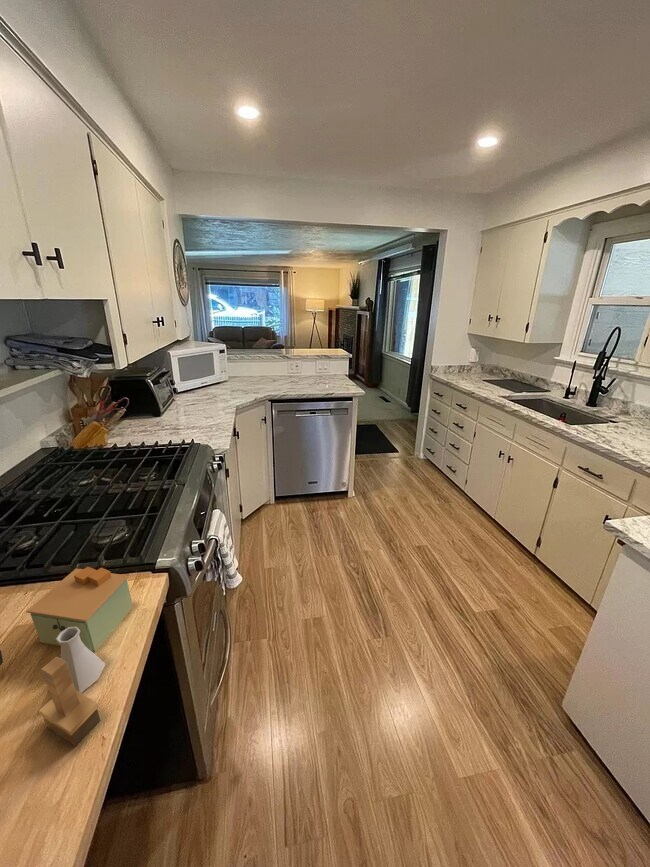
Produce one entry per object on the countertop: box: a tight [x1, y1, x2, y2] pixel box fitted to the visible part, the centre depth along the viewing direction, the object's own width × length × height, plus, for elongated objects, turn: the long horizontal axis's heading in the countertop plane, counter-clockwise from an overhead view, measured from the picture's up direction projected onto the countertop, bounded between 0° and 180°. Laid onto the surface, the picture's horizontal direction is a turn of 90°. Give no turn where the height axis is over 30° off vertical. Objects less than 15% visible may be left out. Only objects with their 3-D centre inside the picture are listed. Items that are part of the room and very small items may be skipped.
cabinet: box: [25, 567, 134, 653], centre depth 72 cm, size 13×12×8 cm
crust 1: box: [74, 566, 98, 585], centre depth 74 cm, size 3×3×2 cm
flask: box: [56, 627, 106, 694], centre depth 62 cm, size 7×7×10 cm
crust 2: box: [88, 567, 112, 586], centre depth 74 cm, size 3×3×2 cm
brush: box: [38, 655, 101, 748], centre depth 54 cm, size 4×7×13 cm, turn 67°
